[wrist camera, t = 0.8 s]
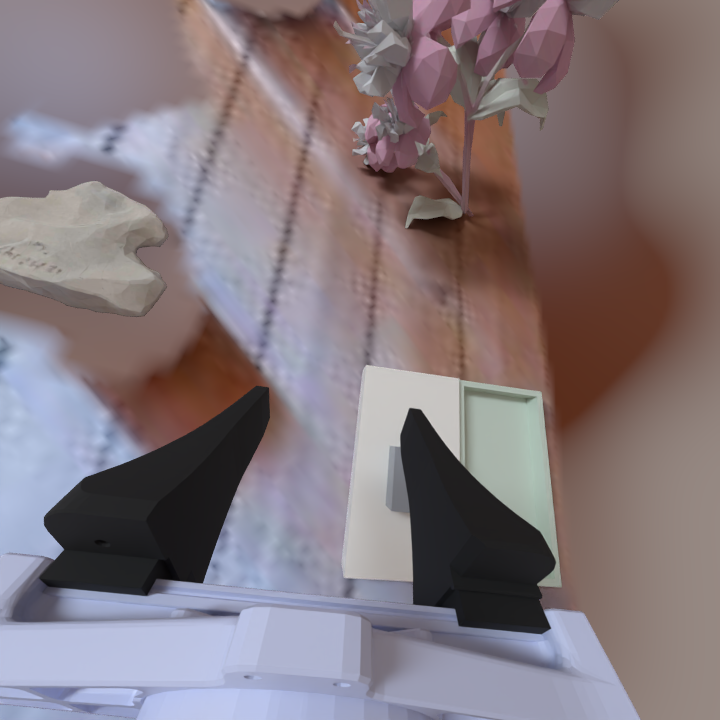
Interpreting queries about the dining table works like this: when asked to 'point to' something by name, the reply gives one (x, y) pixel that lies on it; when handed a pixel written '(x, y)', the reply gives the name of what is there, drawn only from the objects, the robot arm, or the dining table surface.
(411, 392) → the white board
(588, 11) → the flower
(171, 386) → the dining table surface
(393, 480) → the grey tile
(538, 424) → the box
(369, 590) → the dining table surface
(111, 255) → the rock
